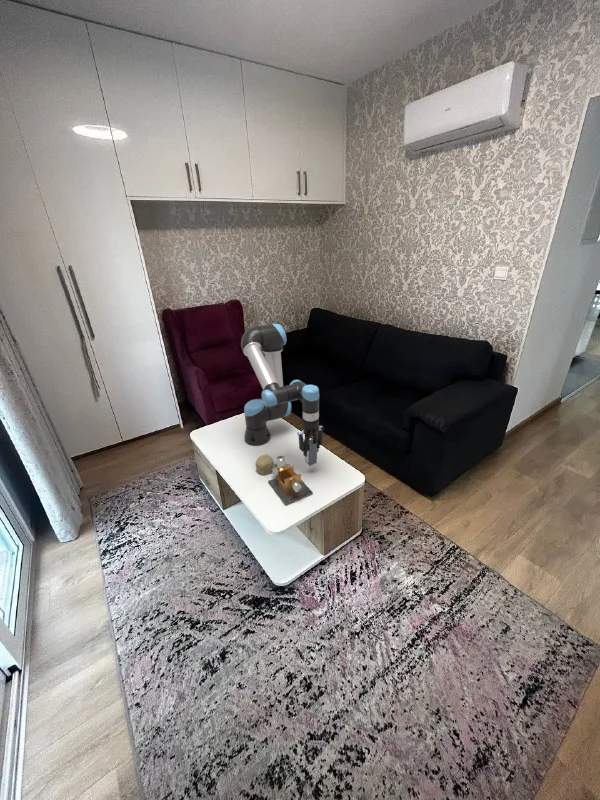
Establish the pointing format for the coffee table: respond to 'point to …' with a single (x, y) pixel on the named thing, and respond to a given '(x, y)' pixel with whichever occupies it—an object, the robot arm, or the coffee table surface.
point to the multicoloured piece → (288, 483)
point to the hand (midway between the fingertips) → (311, 459)
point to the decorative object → (264, 464)
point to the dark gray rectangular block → (312, 452)
